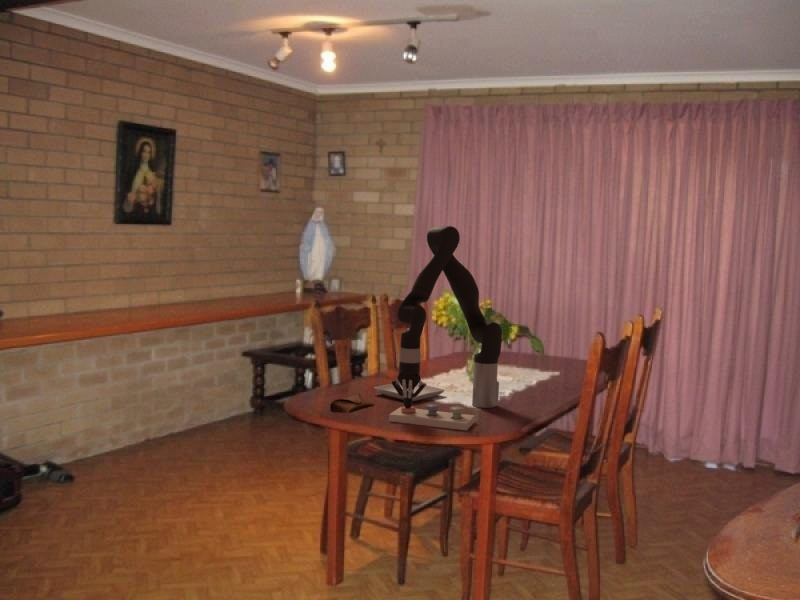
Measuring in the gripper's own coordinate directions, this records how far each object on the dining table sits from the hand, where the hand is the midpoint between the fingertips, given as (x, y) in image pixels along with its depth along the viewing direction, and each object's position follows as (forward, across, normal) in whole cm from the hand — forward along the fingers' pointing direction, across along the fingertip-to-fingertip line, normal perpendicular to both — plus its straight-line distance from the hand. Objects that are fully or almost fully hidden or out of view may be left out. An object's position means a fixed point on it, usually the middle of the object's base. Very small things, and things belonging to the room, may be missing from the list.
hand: (407, 407), depth 281 cm
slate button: (+2, -9, 0) cm, 9 cm away
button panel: (+4, -9, 0) cm, 10 cm away
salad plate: (+4, +11, -36) cm, 38 cm away
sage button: (+2, -18, 0) cm, 18 cm away
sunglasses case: (+5, +24, -8) cm, 26 cm away
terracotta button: (+4, 0, 0) cm, 4 cm away
